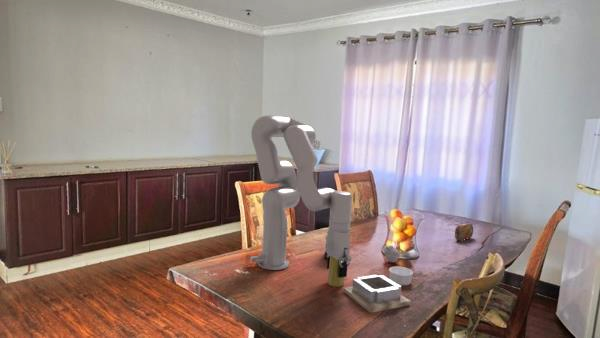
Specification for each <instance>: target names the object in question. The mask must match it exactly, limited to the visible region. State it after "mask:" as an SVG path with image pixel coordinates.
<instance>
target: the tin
mask: <svg viewBox="0 0 600 338" xmlns="http://www.w3.org/2000/svg"><path fill="white" fill-rule="evenodd" d="M473 232H474V226H473V224H472V223H466V222H465V223H462V224H459V225H457V226H456V227H455V230H454V238H455V240H456V241H458V242H459V241H460V242H463V241H462V240H464V239H467V238H470V239H471V238H472V237H473V235H474V234H473Z"/></svg>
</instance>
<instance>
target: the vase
mask: <svg viewBox="0 0 600 338" xmlns="http://www.w3.org/2000/svg"><path fill="white" fill-rule="evenodd" d="M342 258H344V256H342ZM343 262H344V260H342V263H343ZM339 266H340V263H339V260H337V259H335V258H333V257H332V256H330V263H329V269H328V275H327V284H328V285H329V286H331V287H337V288H339V287H342V286H344V284H345V281H344V280H345V277H342V278H339V277H338V272H339Z"/></svg>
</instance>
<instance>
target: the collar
mask: <svg viewBox="0 0 600 338" xmlns="http://www.w3.org/2000/svg"><path fill="white" fill-rule="evenodd" d="M352 286H353V288H352V290H353V291H354V292H355V293H357V294H358V295H359V296H361V297H362V298H363V299H365V300H366V301H367V302H369V303H370V304H371V303H376V304H380V303H385V302H391V301H396V300H398V298H401V295H402V285H398V284H396V283H395V282H393V281H392V280H390V278H388V276H387V277H386V276H385V275H384V274H379V275H377V274H370V275H362V276H356V278H353V279H352ZM378 287H379V288H380V289H375V290H374V289H373V288H378Z"/></svg>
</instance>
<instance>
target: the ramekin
mask: <svg viewBox="0 0 600 338" xmlns="http://www.w3.org/2000/svg"><path fill="white" fill-rule="evenodd" d="M388 270H389V271H388V272H389V279H390V280H392V281H393V282H395V283H396V284H398V285H400V286H409V285H410V284H411V283H412V278H413V274H414V272H413V270H412V269H410V268H407V267H404V266H391V267H389V269H388Z"/></svg>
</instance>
